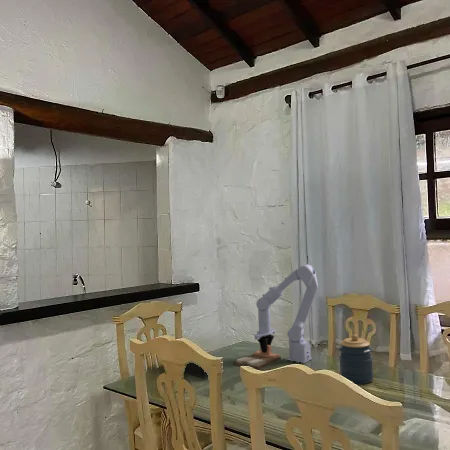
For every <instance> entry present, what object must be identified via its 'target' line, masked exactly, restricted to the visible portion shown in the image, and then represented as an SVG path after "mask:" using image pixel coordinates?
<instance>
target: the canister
mask: <svg viewBox="0 0 450 450" xmlns="http://www.w3.org/2000/svg"><path fill="white" fill-rule="evenodd" d="M340 345H341V346H339V347H338V350H339V356H338V359H339V375H340V374H341V375H342V376H344V377H346V378H347V379H349V380H351V381H353V382H354V383H353V384H369V383H372V382H373V380H374V376H375V375H374V374H375V372H374V368H373V367H374V366H373V364H374V363H373V360H374V358H373V356H372V352H373V348H372V347H371V346H370V345H371V342H369V341H367V340H366V338H361V337H359V336H358V334H356V333H355V334H352V335H351V337H347V338H344V339H343V340H341V341H340Z"/></svg>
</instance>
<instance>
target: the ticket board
mask: <svg viewBox="0 0 450 450" xmlns="http://www.w3.org/2000/svg"><path fill="white" fill-rule="evenodd" d="M279 359H280V360H281V359H282V357H281V356H279V357H277V358H275V359H274V358H268V357H263V356H257V355H253V354H250V355H248V356H245V355H244V356H243V357H239V358H237V359H236V360H235V361H233V363H232V364H233V365H235V366H239V367H242V366H241V365H244V366H250V367H253V368H252V369H254V368H256V369H255V370H261V369H263V368H265V367H267V366H269V365H271V364H273V363H275V362H278V361H280V360H279ZM244 366H243V367H244Z"/></svg>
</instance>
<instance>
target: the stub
mask: <svg viewBox="0 0 450 450" xmlns="http://www.w3.org/2000/svg"><path fill="white" fill-rule="evenodd" d="M259 349H260V350H257V351H254V352H253V355H257V356H263V357H268V358H274V359H275V358H277V357H280V353H274V352H272V344H271V345H267V352H266V353H265V352H262V349H261V346H260V345H259Z"/></svg>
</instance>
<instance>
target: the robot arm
mask: <svg viewBox="0 0 450 450" xmlns="http://www.w3.org/2000/svg"><path fill="white" fill-rule="evenodd" d="M299 280H301V281H302V282H303V283H304V286H305V287H306V289H305V291H304V294H303V297H302V299H301V303H300V304H299V305H300V306H299V309H298V311H297V314H296V317H295V319H294V321H293V324H292V326H291V328H290V329H288V331H287V337H288V353H289V357H288V358H285V361H287V360H292V361H291V362H293V360H294V361H297V362H296V363H299V362H301V363H300V364H305V363H307V362H309V361H311V360H313V358H312V347H311V343H310V342H309V341H306V340H305V338H304V335H305V331H306V330H305V326H306V322H307V319H308V317H309V313H310V310H311V308H312V305H313V302H314V299H315V297H316V295H317V291H318V288H319V282H318V277H317V272H316V269H314V267H313V265H311V264H308V263H306V264H303V265H301V266H298V268H297V269H295V270H293V271H292V272H291V273H289V274H288V276H286V277H285V279H283V280H282V281H281V282H280V283H279V284H278V285H273V286H270V287H269V288H268V290H267V292H266V293H263V294H262V296H261V297H260V298H258V299H257V301H256V303H255V304H256V308H257V310H258V311H257V316H258V319H257V320H258V330H257V331H256V334H254V335H253V336H254V337H253V338H254V340H257V341H258V343H259V347H260V346H261V349H262V352H265V353H266V352H267V345H271V346H272V342H273V340H274V337H275V335H273V334H276V329H275V328H272V323H271V321H272V319H271V318H272V317H271V308H270V307H271V306H272V305H273V304H275V302H276V301H278V300H279V299H280V297H282V296H283V291H284V290H285V289H287V287H289V286H290V285H291V284H292V283H293V282H295V281H299ZM298 361H299V362H298ZM302 362H303V363H302Z"/></svg>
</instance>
